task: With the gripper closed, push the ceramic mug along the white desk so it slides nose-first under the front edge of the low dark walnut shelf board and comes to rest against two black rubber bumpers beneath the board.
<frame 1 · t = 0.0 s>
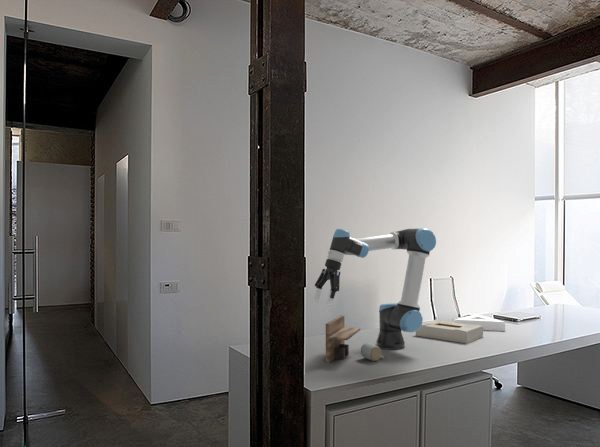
hand: (321, 303, 228), 28 cm above the table, tool tilted 20°, fingers open, 13 cm apart
walnut shelf: (347, 356, 238), on the table
box: (449, 337, 286), on the table
ceramic mug: (373, 359, 233), on the table
triangle block: (478, 327, 317), on the table
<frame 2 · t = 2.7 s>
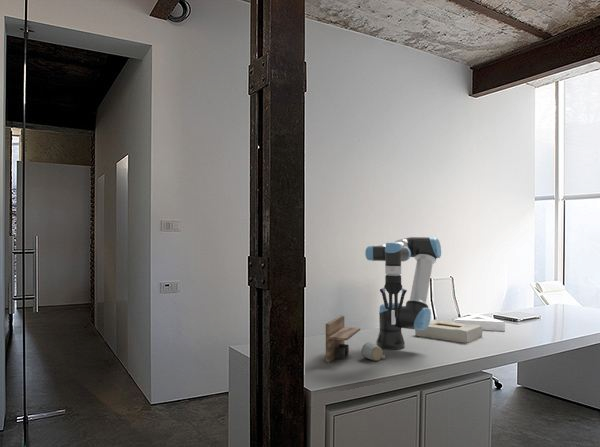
hand: (393, 324, 230), 18 cm above the table, tool pointing down, fingers closed
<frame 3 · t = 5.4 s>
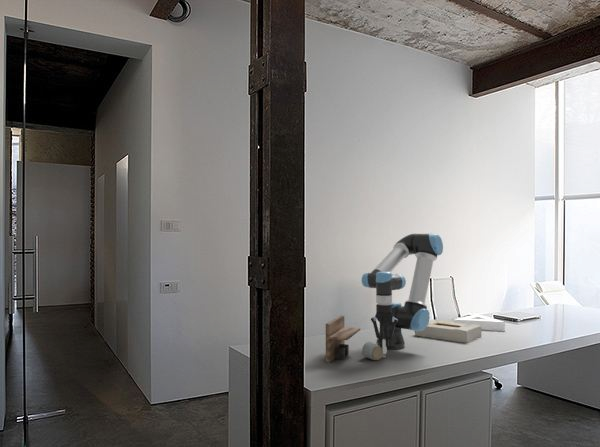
hand: (384, 353, 231), 3 cm above the table, tool pointing down, fingers closed
ceramic mug: (374, 359, 234), on the table, touching gripper
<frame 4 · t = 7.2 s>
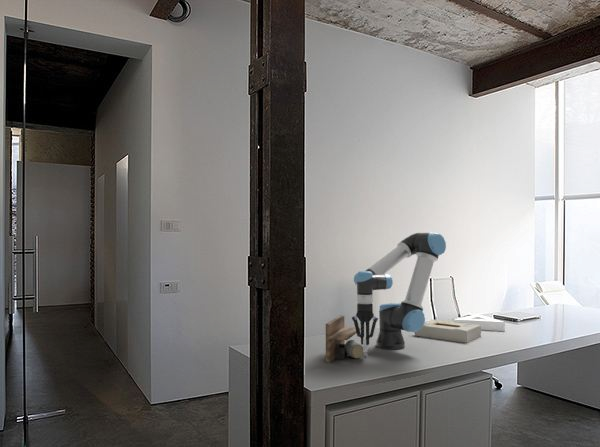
hand: (365, 351, 234), 3 cm above the table, tool pointing down, fingers closed
ceramic mug: (356, 357, 238), on the table, touching gripper
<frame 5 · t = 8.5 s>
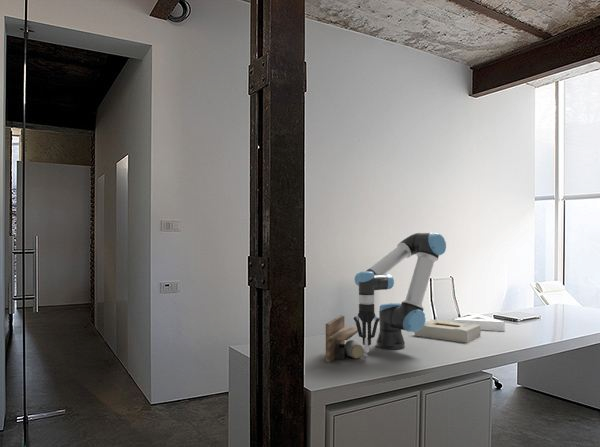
hand: (367, 351, 234), 3 cm above the table, tool pointing down, fingers closed
ceramic mug: (356, 357, 238), on the table
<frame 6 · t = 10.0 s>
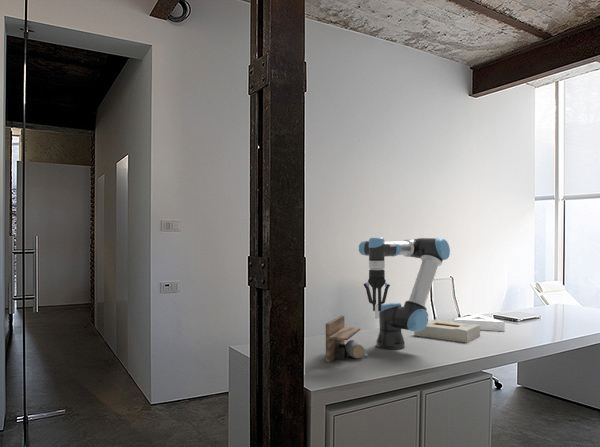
hand: (377, 318, 233), 20 cm above the table, tool pointing down, fingers closed
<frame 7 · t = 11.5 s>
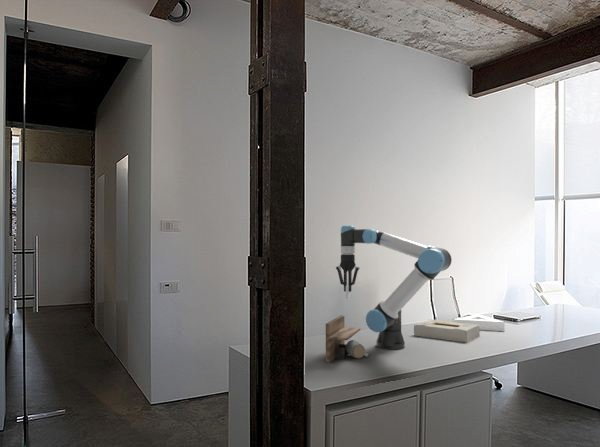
hand: (347, 297, 260), 26 cm above the table, tool pointing down, fingers closed
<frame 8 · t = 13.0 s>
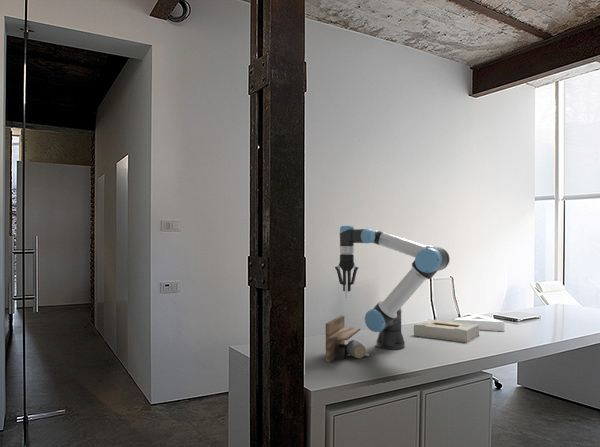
hand: (346, 297, 261), 26 cm above the table, tool pointing down, fingers closed
at the end: ceramic mug inside the target area on the walnut shelf (2.6 cm from its centre), point 0.0 cm above the walnut shelf's base; ceramic mug tilted 0°; the gripper is holding nothing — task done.
